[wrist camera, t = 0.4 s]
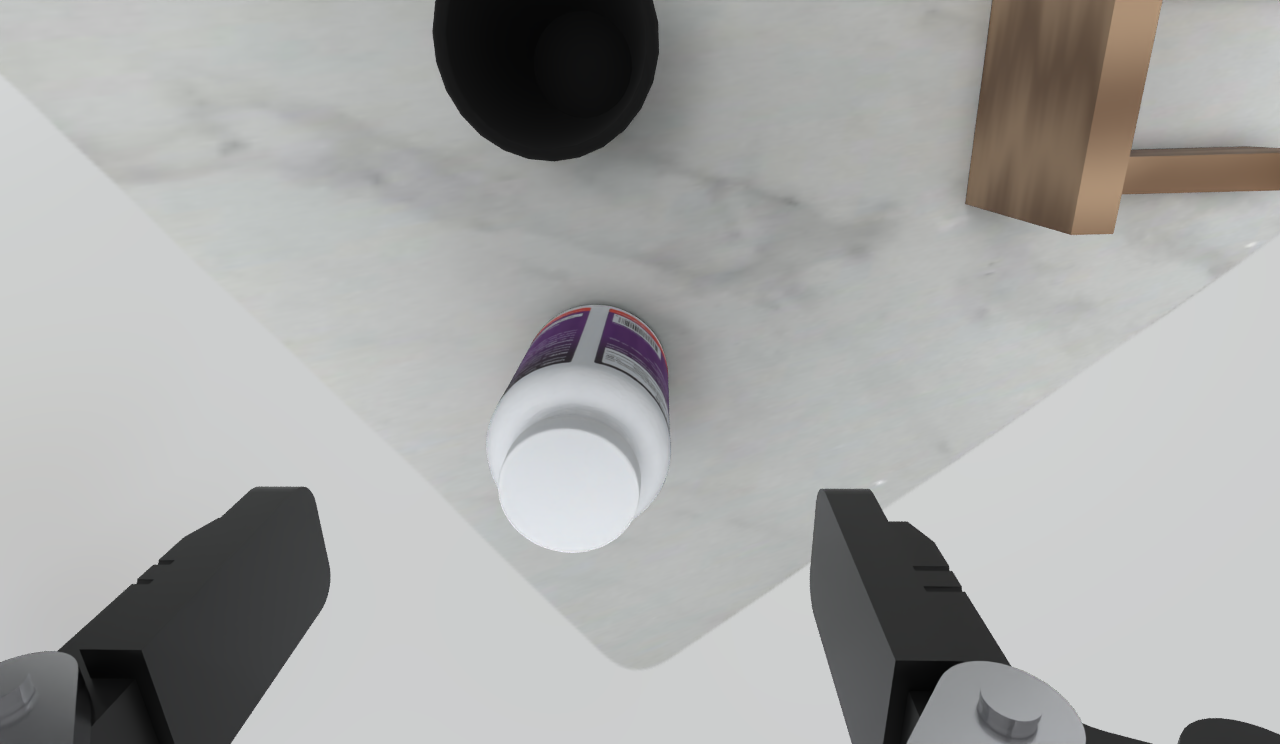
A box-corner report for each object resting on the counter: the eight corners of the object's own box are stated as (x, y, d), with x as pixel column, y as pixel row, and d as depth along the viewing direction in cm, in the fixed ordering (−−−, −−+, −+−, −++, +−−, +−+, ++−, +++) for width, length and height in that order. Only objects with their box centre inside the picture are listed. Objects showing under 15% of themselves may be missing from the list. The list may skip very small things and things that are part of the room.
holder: (1002, -71, 32) (1143, -149, 22) (1307, -83, 31) (1583, -169, 22) (965, 204, 36) (1071, 234, 27) (1233, 197, 36) (1437, 226, 26)
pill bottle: (531, 425, 41) (466, 575, 28) (529, 296, 39) (456, 392, 25) (665, 433, 41) (665, 586, 28) (673, 303, 38) (677, 404, 25)
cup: (682, 13, 33) (691, -40, 22) (632, 167, 36) (618, 191, 25) (530, -45, 33) (461, -129, 22) (490, 117, 35) (410, 117, 24)
